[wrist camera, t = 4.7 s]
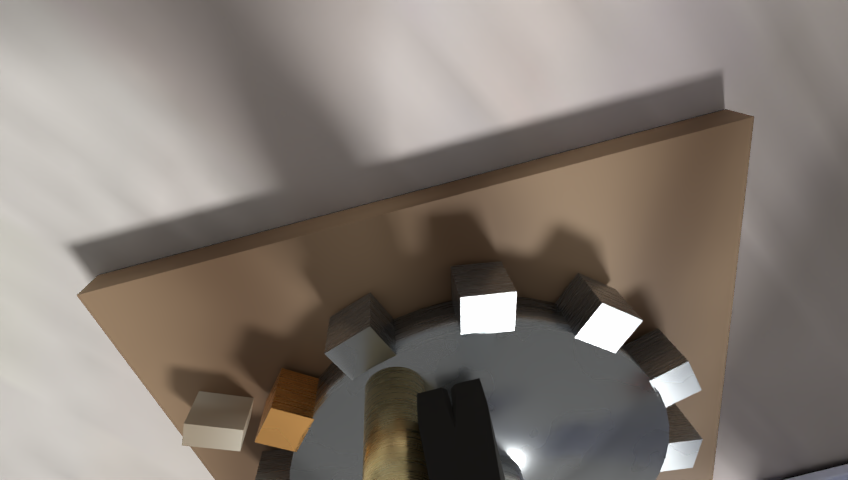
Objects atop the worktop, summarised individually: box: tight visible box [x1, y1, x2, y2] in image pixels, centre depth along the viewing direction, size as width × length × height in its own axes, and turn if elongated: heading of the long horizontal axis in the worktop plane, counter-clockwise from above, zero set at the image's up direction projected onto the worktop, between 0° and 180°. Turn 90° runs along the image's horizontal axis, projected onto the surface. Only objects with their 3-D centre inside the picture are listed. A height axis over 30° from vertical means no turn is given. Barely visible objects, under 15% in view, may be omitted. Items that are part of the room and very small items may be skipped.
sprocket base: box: [77, 109, 754, 480], centre depth 15 cm, size 18×18×2 cm
